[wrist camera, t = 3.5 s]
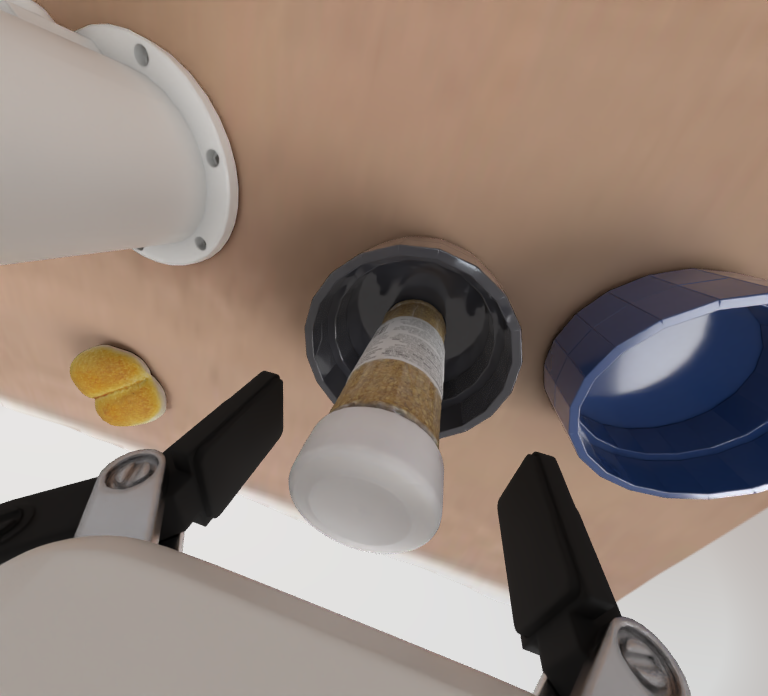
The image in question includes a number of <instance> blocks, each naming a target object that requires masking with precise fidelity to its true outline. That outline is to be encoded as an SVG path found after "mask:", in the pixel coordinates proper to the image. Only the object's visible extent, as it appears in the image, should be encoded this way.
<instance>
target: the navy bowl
mask: <svg viewBox="0 0 768 696" xmlns="http://www.w3.org/2000/svg"><path fill="white" fill-rule="evenodd" d="M544 364H545V365H544V387H545V391H546V393H547V395H548V397H549V400H550V402H551V404H552V406H553V408H554V410H555V412H556V414H557V416H558V418H559V420H560V422H561V424H562V426H563V428H564V430H565V432H566V433H567V435H568V437H569V439H570V441H571V443H572V445H573V447H574V449H575V451H576V453H577V455H578V456H579V458H580V459H581V460H582V461H584V462H585V463H586V464H587V465H588V466H589V467H590V468H591V469H592V470H593V471H594V472H595V473H597V474H598V475H599V476H600V477H602V478H604V479H606V480H609V481H611V482H613V483H615V484H617V485H619V486H621V487H624V488H626V489H628V490H631V491H636V492H640V493H645V494H649V495H654V496H659V497H663V498H680V499H716V498H724V497H732V496H740V495H748V494H754V493H759V492H763V491H766V490H768V280H766V279H761V278H757V277H753V276H748V275H744V274H739V273H735V272H726V271H716V270H706V269H696V268H692V269H691V268H690V269H684V270H678V271H672V272H665V273H659V274H653V275H648V276H645V277H642V278H640V279H637V280H635V281H632V282H630V283H627V284H625V285H622V286H620V287H617V288H615V289H613V290H610V291H608V292H606V293H605V294H603V295H602V296H601V297H599V298H598V299H596V300H595V301H593V302H592V303H591V304H589V305H588V306H586V307H585V308H583V309H582V310H581V311H579V312H578V313H577V314H576V315H574V317H573V318H572V319H571V320H570V321H569V323H568V324H567V325H566V326H565V327H564V328H563V330H562V331H561V332H560V333H559V334H558V336H557V337H556V338H555V339H554V341H553V344H552V346H551V349H550V351H549V353H548V356H547V358H546V361H545V363H544Z"/></svg>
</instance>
